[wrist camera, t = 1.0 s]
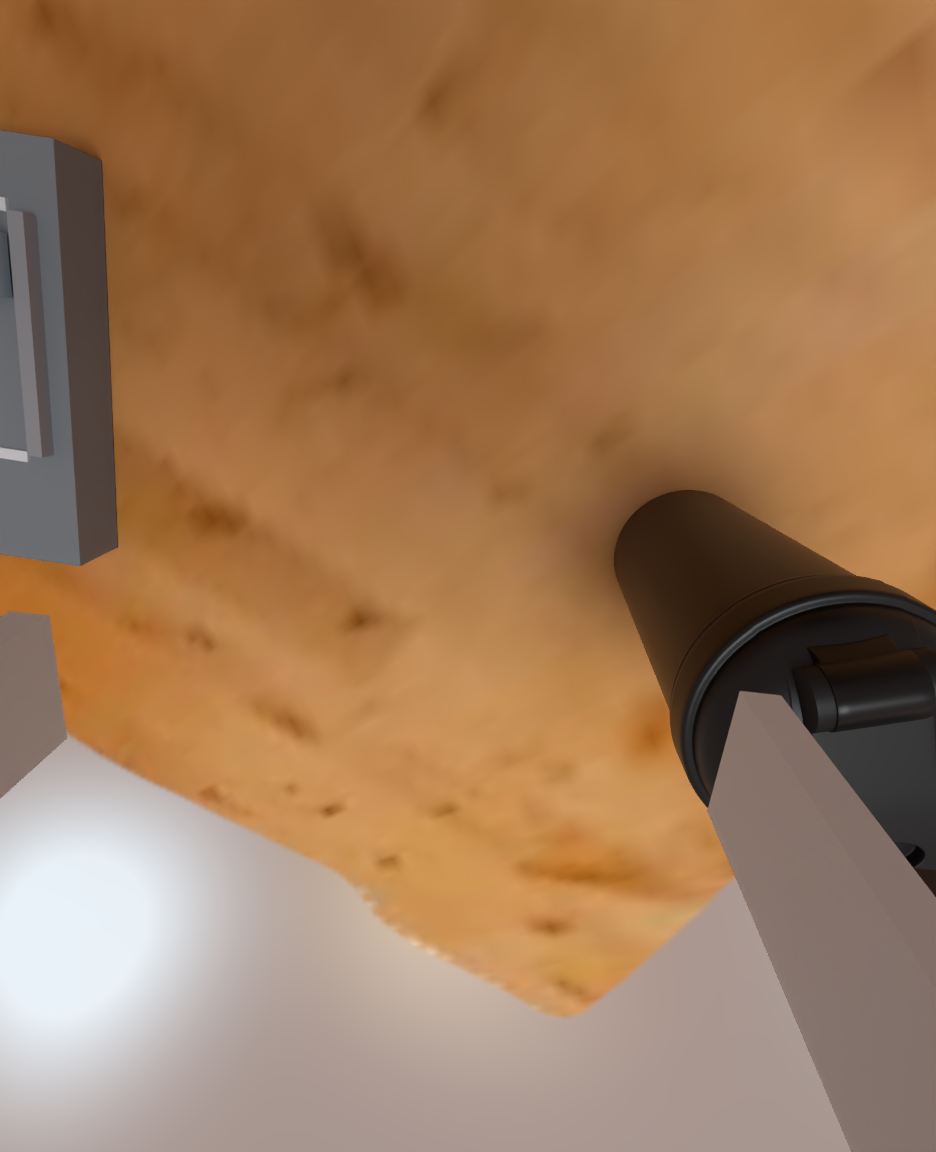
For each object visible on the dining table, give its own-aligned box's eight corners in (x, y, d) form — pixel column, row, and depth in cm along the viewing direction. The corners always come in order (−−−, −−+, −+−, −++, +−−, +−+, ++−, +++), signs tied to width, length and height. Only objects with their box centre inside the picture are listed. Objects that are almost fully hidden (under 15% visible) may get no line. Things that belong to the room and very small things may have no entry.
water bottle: (612, 643, 43) (724, 944, 21) (589, 493, 40) (692, 668, 18) (770, 616, 42) (1060, 905, 20) (759, 460, 39) (1090, 604, 17)
